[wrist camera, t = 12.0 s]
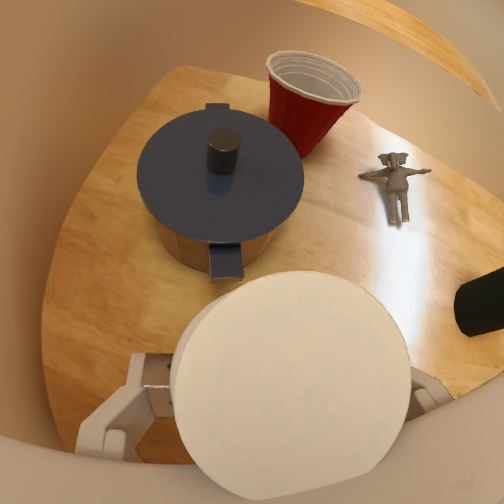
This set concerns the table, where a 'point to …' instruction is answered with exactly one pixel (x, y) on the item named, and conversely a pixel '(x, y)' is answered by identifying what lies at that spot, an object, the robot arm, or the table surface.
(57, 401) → the table surface
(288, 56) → the plastic cup
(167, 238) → the pot
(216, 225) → the pot lid
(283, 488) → the pill bottle
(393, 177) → the elephant figurine
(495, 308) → the wine bottle
